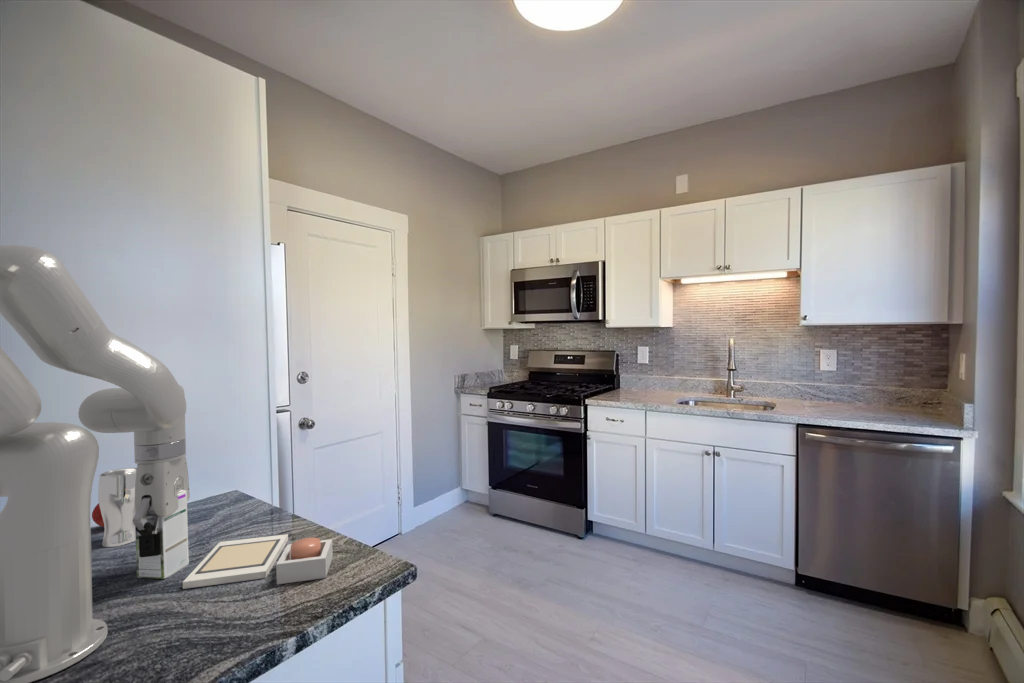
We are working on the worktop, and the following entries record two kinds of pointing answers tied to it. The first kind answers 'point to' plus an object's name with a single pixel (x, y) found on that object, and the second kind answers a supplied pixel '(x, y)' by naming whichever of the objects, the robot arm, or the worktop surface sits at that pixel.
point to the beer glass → (117, 506)
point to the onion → (97, 516)
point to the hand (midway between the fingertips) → (162, 544)
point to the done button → (306, 548)
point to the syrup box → (167, 544)
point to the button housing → (304, 565)
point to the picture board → (237, 561)
